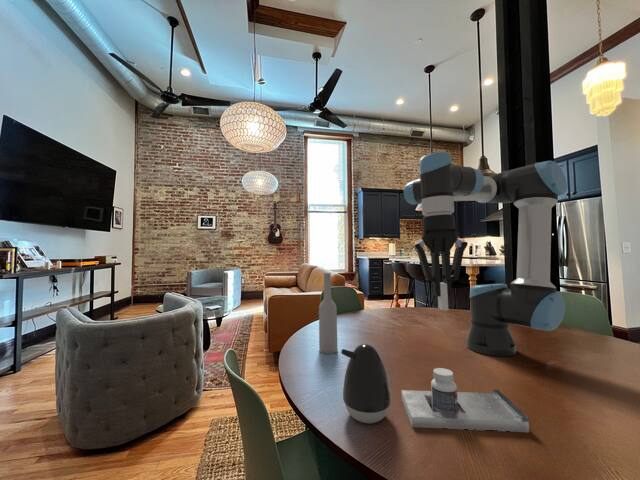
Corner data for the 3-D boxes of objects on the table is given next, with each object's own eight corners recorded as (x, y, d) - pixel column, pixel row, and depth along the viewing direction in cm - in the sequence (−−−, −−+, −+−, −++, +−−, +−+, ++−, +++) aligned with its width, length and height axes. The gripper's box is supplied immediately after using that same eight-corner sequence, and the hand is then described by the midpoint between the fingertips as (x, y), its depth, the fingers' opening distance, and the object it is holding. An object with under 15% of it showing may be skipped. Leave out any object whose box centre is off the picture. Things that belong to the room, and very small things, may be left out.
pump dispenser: (339, 404, 64) (337, 338, 65) (382, 402, 65) (381, 336, 66) (346, 433, 54) (345, 354, 55) (398, 429, 55) (396, 351, 56)
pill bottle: (461, 421, 57) (459, 377, 58) (434, 419, 58) (433, 376, 59) (454, 407, 63) (452, 367, 63) (429, 405, 64) (428, 366, 64)
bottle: (320, 347, 104) (319, 272, 106) (337, 347, 104) (336, 272, 105) (318, 353, 98) (317, 273, 99) (337, 354, 97) (335, 273, 98)
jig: (498, 402, 64) (497, 389, 65) (529, 432, 54) (528, 417, 54) (401, 398, 67) (401, 386, 67) (412, 427, 56) (411, 412, 56)
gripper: (458, 215, 73) (463, 305, 73) (408, 218, 74) (412, 306, 74) (471, 212, 66) (477, 312, 65) (415, 214, 67) (420, 313, 66)
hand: (443, 309), depth 69 cm, fingers closed
